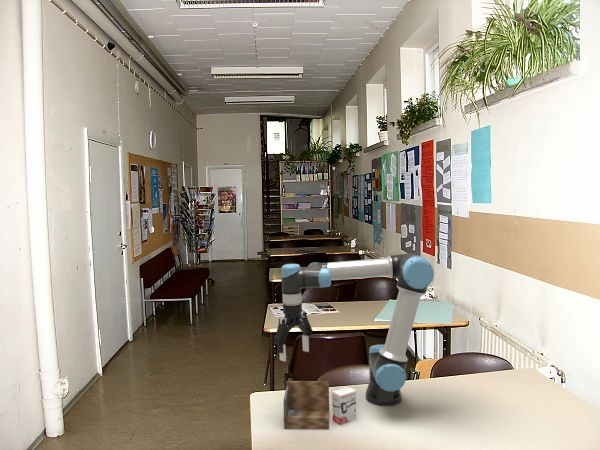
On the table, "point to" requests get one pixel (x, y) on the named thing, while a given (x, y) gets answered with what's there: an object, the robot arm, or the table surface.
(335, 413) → the ink box
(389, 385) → the robot arm
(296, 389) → the open wooden box
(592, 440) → the table surface
